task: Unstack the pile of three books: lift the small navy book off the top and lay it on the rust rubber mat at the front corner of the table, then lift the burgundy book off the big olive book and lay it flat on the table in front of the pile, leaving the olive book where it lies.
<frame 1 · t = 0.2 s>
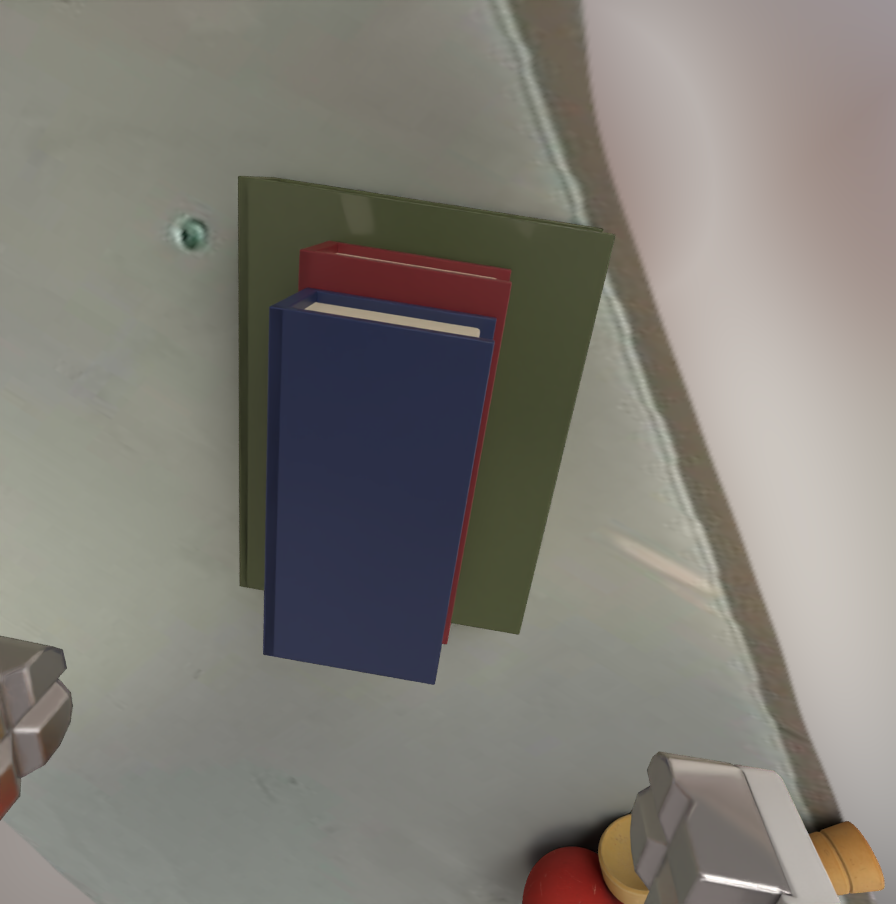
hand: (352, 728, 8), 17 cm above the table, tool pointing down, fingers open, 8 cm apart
kendama: (678, 839, 34), on the table
navy book: (382, 473, 19), point 6 cm above the table, touching burgundy book
burgundy book: (398, 437, 22), point 3 cm above the table, touching navy book, olive book
olive book: (410, 410, 25), on the table, touching burgundy book
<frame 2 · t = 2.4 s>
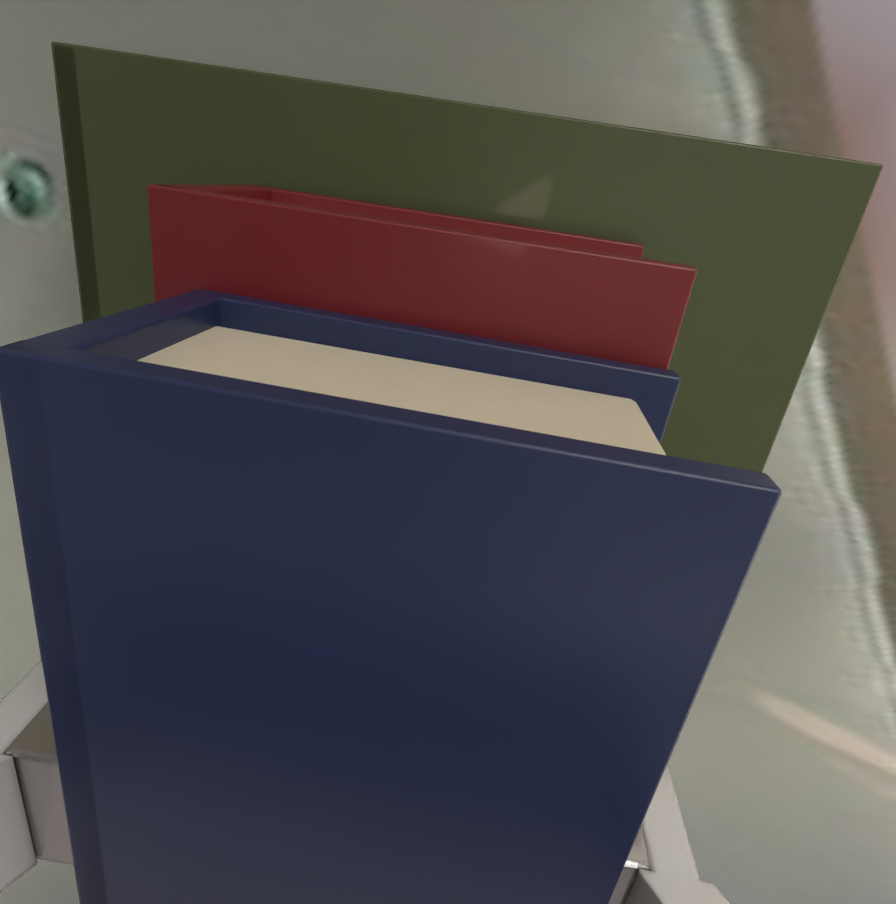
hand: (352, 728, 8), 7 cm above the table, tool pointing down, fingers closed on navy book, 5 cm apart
navy book: (382, 690, 9), point 6 cm above the table, touching burgundy book, gripper
burgundy book: (400, 565, 12), point 3 cm above the table, touching navy book, olive book
olive book: (420, 494, 15), on the table, touching burgundy book
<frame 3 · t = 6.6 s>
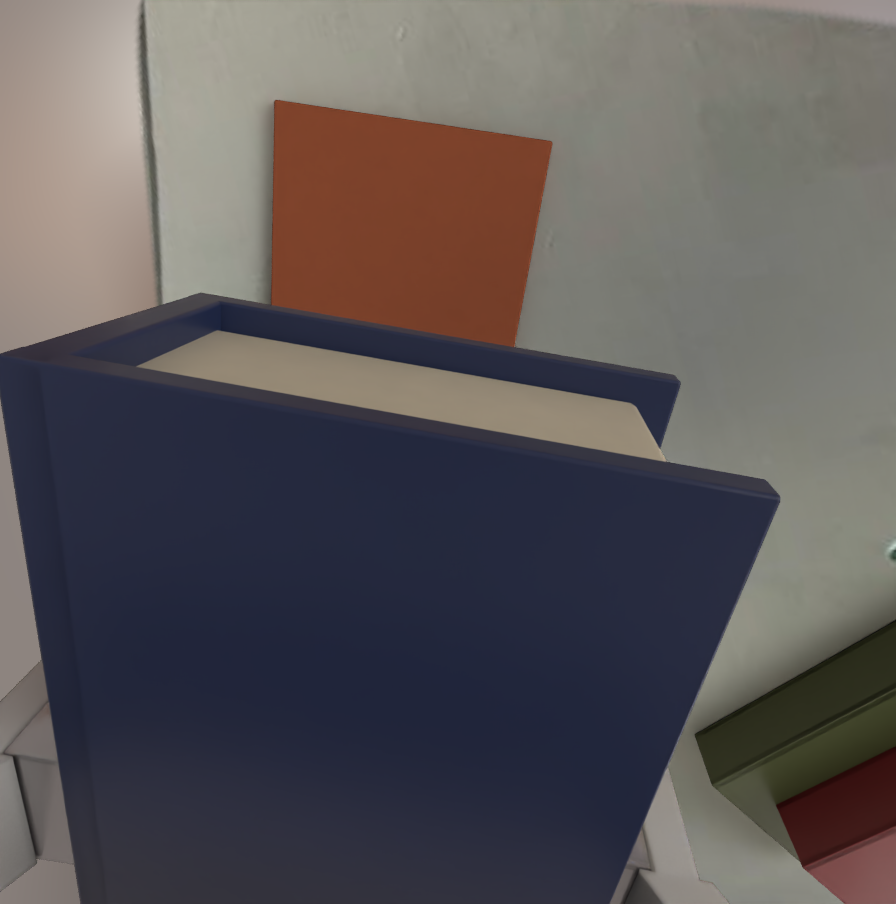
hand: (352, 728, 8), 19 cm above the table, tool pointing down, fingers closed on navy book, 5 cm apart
rubber mat: (394, 314, 25), on the table
navy book: (382, 693, 9), point 18 cm above the table, touching gripper
when the fingers open (1 cm above the table, at t = 11.1 s): navy book stays where it is, resting on rubber mat.
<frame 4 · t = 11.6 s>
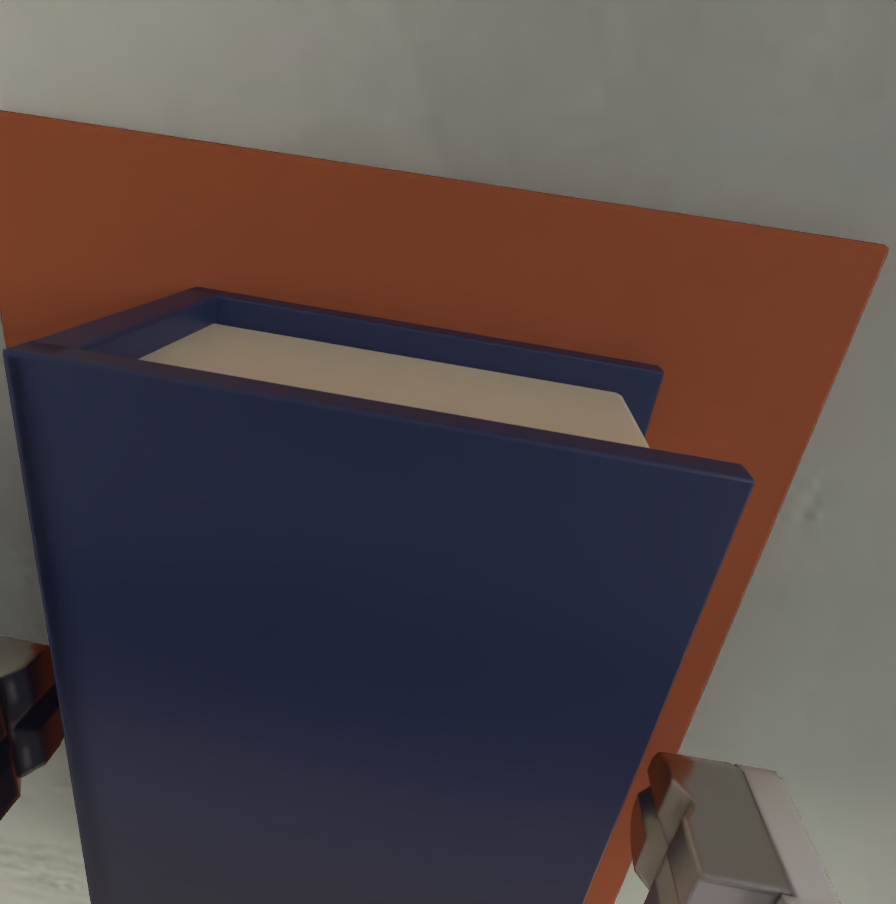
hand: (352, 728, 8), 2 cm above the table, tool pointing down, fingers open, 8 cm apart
rubber mat: (372, 648, 10), on the table
navy book: (378, 677, 9), resting on rubber mat
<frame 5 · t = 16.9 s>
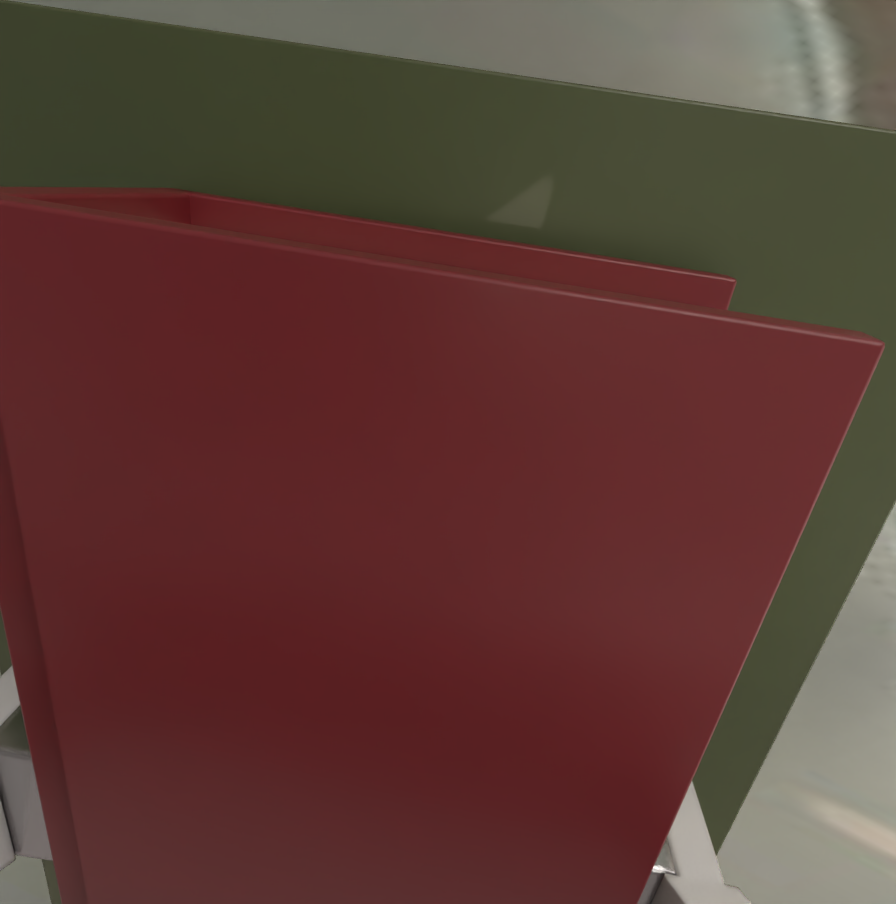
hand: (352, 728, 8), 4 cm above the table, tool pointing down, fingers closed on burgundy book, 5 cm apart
burgundy book: (383, 688, 9), point 3 cm above the table, touching gripper, olive book
olive book: (402, 568, 12), on the table, touching burgundy book
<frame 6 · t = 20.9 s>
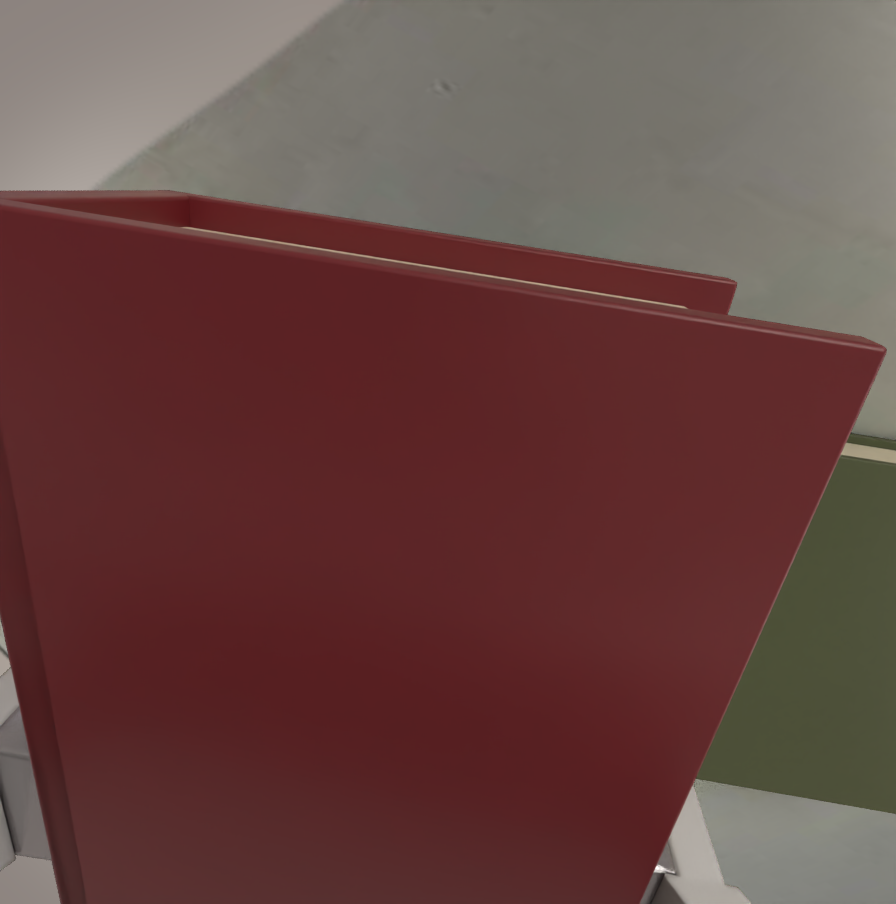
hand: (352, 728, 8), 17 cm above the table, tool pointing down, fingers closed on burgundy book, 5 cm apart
burgundy book: (383, 691, 9), point 16 cm above the table, touching gripper
olive book: (815, 607, 26), on the table
when the fingers open (1 cm above the table, at t = 25.0 s): burgundy book stays where it is, on the table.
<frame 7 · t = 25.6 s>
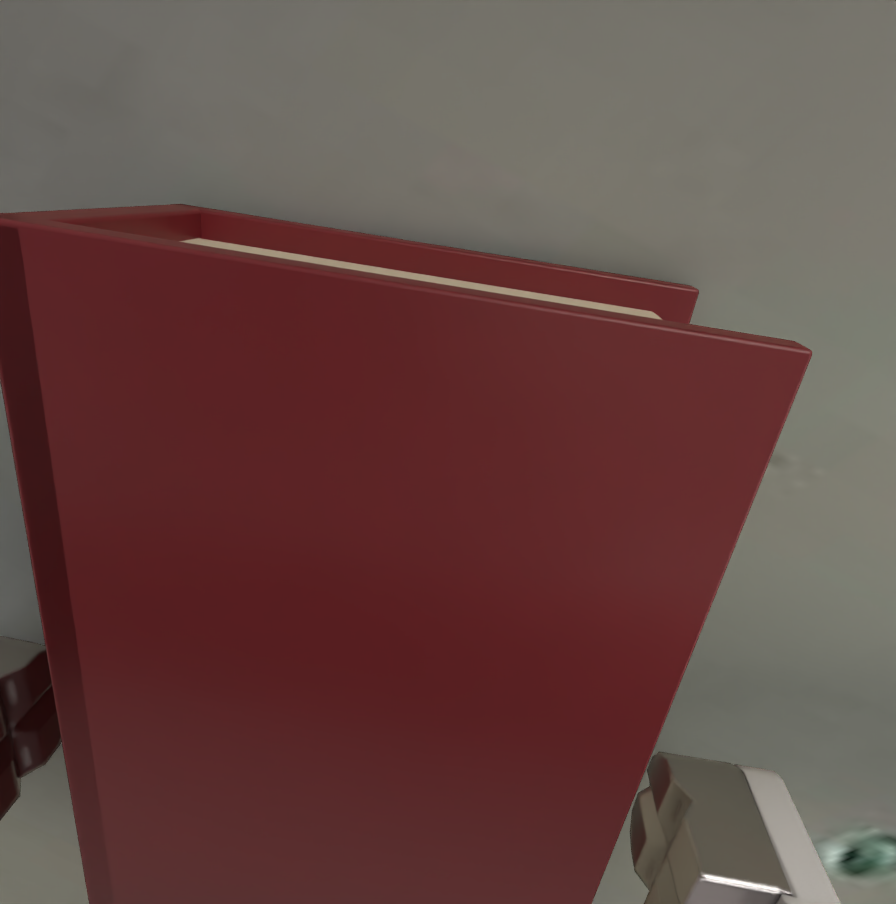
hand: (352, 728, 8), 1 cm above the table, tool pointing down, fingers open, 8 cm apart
burgundy book: (379, 669, 10), on the table
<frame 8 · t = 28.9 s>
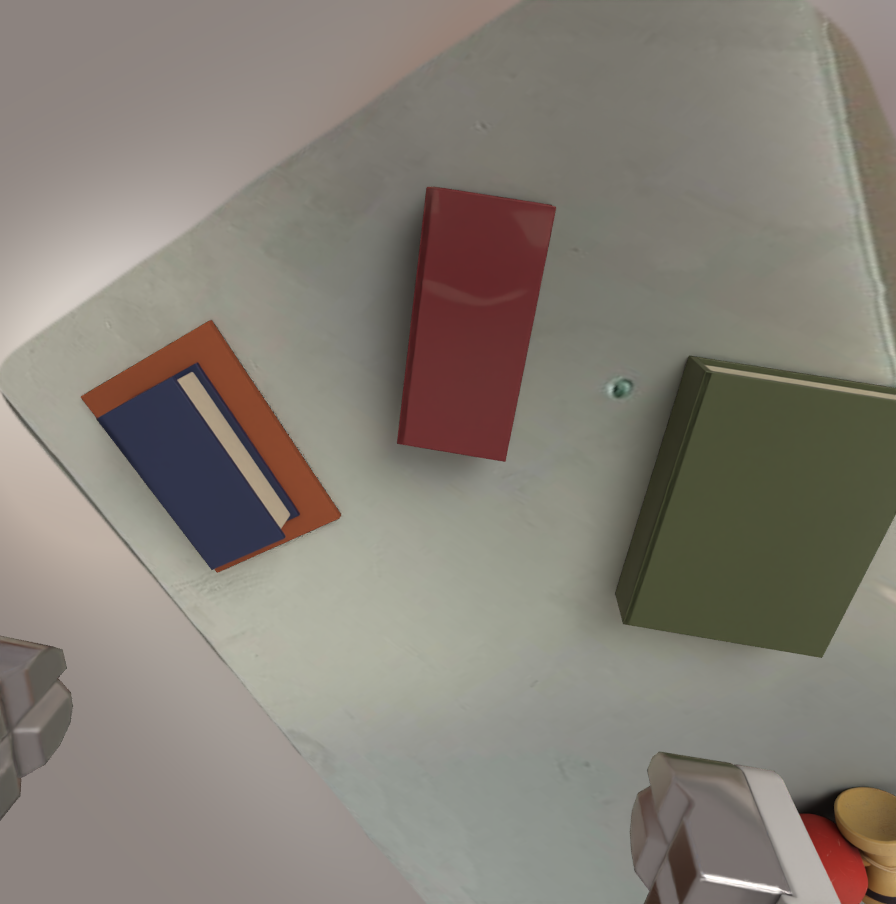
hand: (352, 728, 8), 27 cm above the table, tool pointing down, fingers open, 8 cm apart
kendama: (884, 807, 45), on the table
rubber mat: (216, 456, 38), on the table
navy book: (216, 458, 37), resting on rubber mat
burgundy book: (472, 323, 33), on the table
olive book: (749, 501, 36), on the table
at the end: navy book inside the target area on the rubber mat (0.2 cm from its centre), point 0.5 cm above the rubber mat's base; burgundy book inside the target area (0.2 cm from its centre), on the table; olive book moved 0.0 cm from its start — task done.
